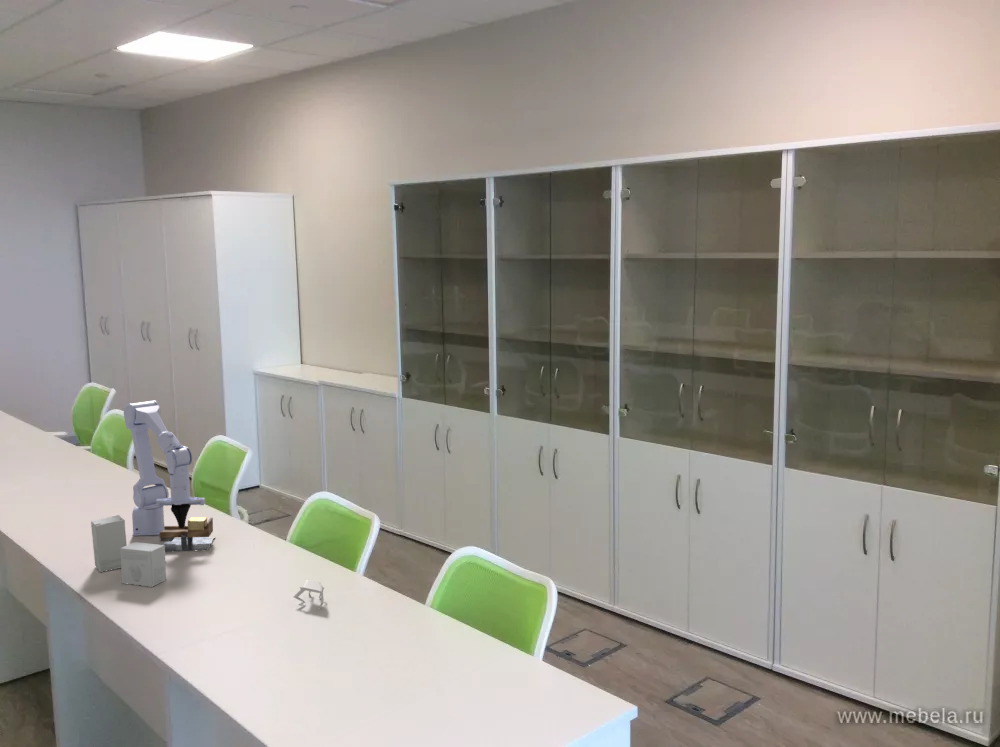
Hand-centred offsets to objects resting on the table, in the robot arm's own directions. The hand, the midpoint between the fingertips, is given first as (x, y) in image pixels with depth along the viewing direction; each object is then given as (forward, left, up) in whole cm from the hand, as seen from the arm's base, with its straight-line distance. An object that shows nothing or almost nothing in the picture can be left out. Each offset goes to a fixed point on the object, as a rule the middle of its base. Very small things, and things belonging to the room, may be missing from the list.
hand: (181, 526), depth 269 cm
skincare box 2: (-3, -30, -6) cm, 31 cm away
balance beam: (+1, 0, -4) cm, 4 cm away
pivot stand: (+1, 0, -6) cm, 6 cm away
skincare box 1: (-16, -18, -6) cm, 25 cm away
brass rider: (+5, 0, -2) cm, 5 cm away
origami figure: (+46, -51, -6) cm, 69 cm away
